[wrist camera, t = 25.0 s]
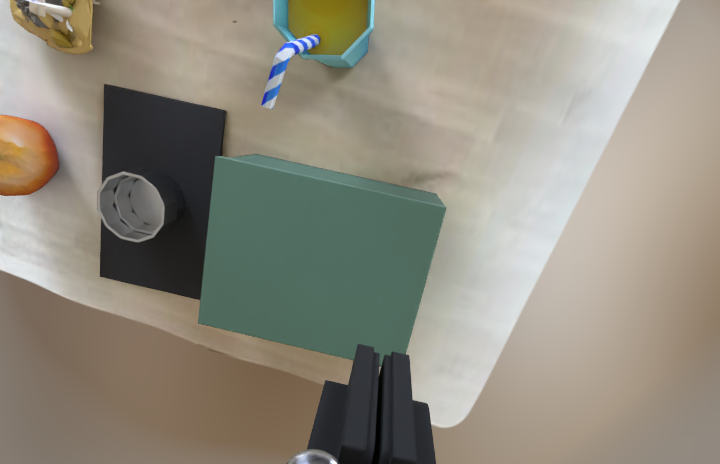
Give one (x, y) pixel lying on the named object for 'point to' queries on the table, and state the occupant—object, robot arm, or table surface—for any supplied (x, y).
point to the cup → (319, 35)
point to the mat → (167, 156)
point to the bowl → (140, 204)
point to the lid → (314, 260)
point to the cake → (58, 22)
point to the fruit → (25, 156)
